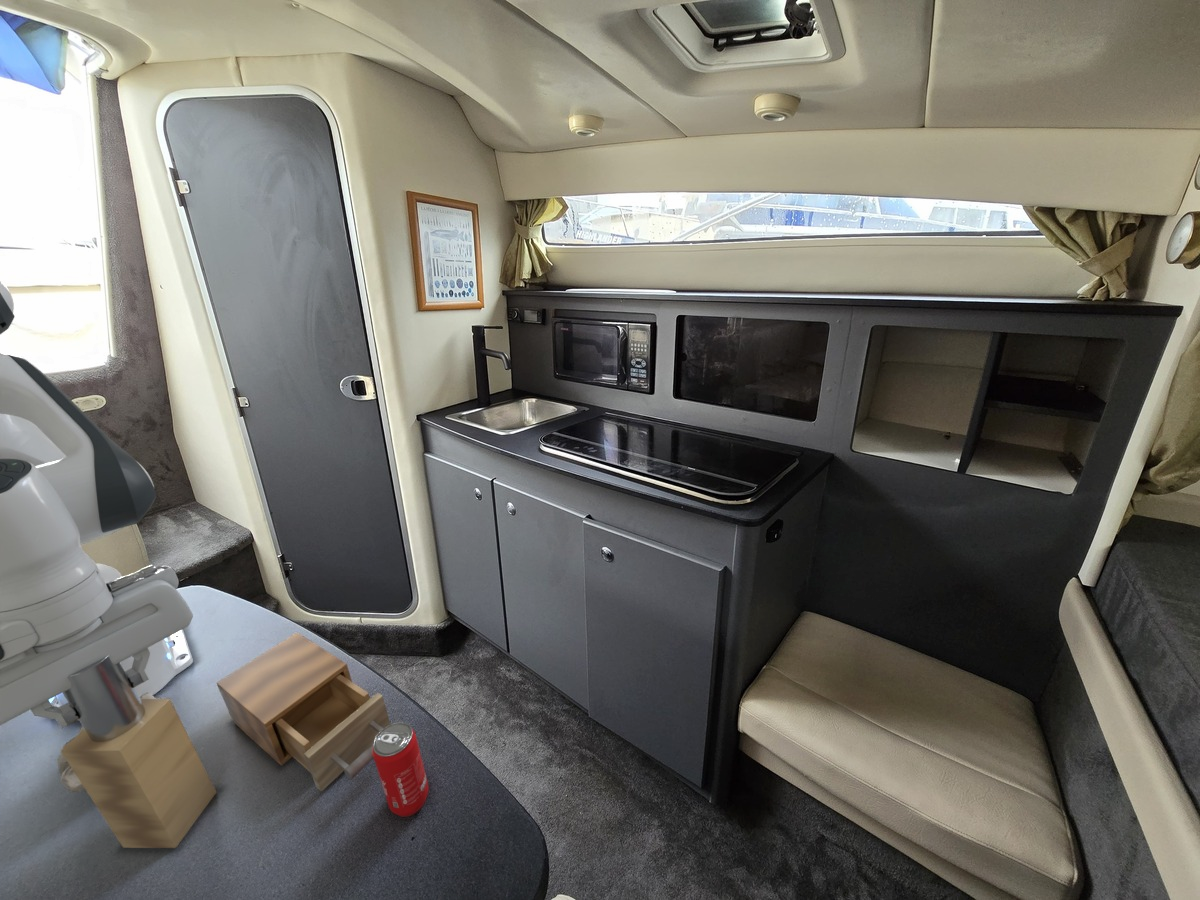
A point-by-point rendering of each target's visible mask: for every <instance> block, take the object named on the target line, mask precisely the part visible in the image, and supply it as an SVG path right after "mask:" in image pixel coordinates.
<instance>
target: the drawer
mask: <svg viewBox="0 0 1200 900" xmlns="http://www.w3.org/2000/svg"><path fill="white" fill-rule="evenodd" d="M391 724H392V723H391V720H390V718H389V713H388V710H387V707H386V703H385V700H384V695H382V694H381V693H380V692H376V694H374V695H373V696H371V697H370V693H369V692H368V691H366V690H365V689H363V688H362V687H360V686H359V685H357V684H356V683H354V682H353V681H352V682H351V681H350V680H348V679H347V678H345V677H344V676H342V675H341V674H338V675H337V676H336V677H334V678H333V679H332V680H330V681H329V682H328V683H326V684H325V685H324V686H322V687H321V688H320V689H318V690H317V691H316V692H314V693H313V694H311V695H310V696H309V697H307V698H306V699H305V700H303V701H302V702H301V703H299V704H298V705H297V706H295V707H294V708H293V709H291V710H290V711H289V712H287V713H286V714H285V715H283V716H282V717H281V718H279V719H278V720H277V721H275V722H274V723H272V726H273V729H274V731H275V734H276V736H277V739H278V741H279V744H280V746H281V747H282V748H283V749H284V750H285V751H286V752H288V753H289V754H290V755H291V756H292V758H293V759H294V760H295V761H296V762H298V763H299V764H300V765H301V766H302V767H303V768H305V769H306V770H307V771H308V772H309V773H310V775H311V777H312V779H313V782H314V784H315V785H314V786H315V788H316V789H318V790H319V792H323V791H324V790H325V789H326V788H327V787H328V786H329V785H330V784H331V783H333V782H334V781H335V780H336V779H337V778H338V777H340V775H341V774H342V773H344V775H346V777H347V778H348V779H349V780H353V779H354V778H355V777H357V775H358V774H359V773H360V772H361V771H362V770H363V769H364V768H366V766H367V765H369V763H371V762H372V761H373V760H374V757H373V744H374V740H375V738H376V736H377V735H378V734H379V732H380V731H381V730H382V729H384V728H385V727H387V726H388V725H391Z"/></svg>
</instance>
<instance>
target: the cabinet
mask: <svg viewBox="0 0 1200 900" xmlns="http://www.w3.org/2000/svg"><path fill="white" fill-rule="evenodd" d="M338 674H341V675H342V676H344V677H345V678H347V679H348V680H350V681H351V682H353V679H352V676H351V673H350V671H349V667H348V664H347V663H346V662H344V661H343V660H342V659H340V658H338V657H337V656H335V655H334V654H332V653H331V652H329V651H328V650H326V649H324V648H323V647H321V646H320V645H319V644H316V643H315V642H313V641H312V640H310V639H309V638H307V637H305V636H304V635H302V634H301V633H299V632H298V631H296V632H295V633H293V634H292V635H290V636H288V637H287V638H285V639H283V640H282V641H281V642H279V643H277V644H276V645H274V646H273V647H271V648H269V649H268V650H266V651H265V652H263V653H261V654H260V655H258V656H257V657H255V658H254V659H252V660H250V661H249V662H247V663H245V664H244V665H242V666H241V667H239V668H237V669H236V670H235V671H233V672H231V673H229V674H228V675H226V676H225V677H223V678H221V679H220V680H219V681H217V682H216V686H217V687H218V690H219V693H220V695H221V697H222V700H223V702H224V704H225V706H226V708H227V711H228V713H229V715H230V717H231V719H232V721H233V724H234V725H236V726H237V727H238V728H239V729H240V730H241V731H243V732H244V733H245V734H246V735H247V736H248V737H249V738H250V739H251V740H252V741H254V742H255V743H256V744H257V745H258V746H259V747H260V748H261V749H262V750H263V751H264V752H266V753H267V754H268V755H269V756H270V757H271V758H272V759H273V760H274V761H275V762H277V763H278V765H279V766H283V765H285V764H286V763H287V762H288V761H290V759H292V758H293V757H292V756H291V755H290V754H289V753H288V752H286V751H285V750H284V749H283V748H282V747H281V746H280V744H279V741H278V739H277V736H276V734H275V731H274V729H273V726H272V723H274V722H275V721H277V720H278V719H279V718H281V717H282V716H283V715H285V714H286V713H287V712H289V711H290V710H291V709H293V708H294V707H295V706H297V705H298V704H299V703H301V702H302V701H303V700H305V699H306V698H307V697H309V696H310V695H311V694H313V693H314V692H316V691H317V690H318V689H320V688H321V687H322V686H324V685H325V684H326V683H328V682H329V681H330V680H332V679H333V678H334V677H336V676H337V675H338Z"/></svg>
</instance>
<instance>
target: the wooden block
mask: <svg viewBox="0 0 1200 900" xmlns="http://www.w3.org/2000/svg"><path fill="white" fill-rule="evenodd" d="M140 700H141V702H142V704H143V706H144V708H145V714H144V716H143V718H142V719H141V720H140V721H139V722H138V723H137V724H136V725H135V726H134V727H133V728H132V729H130V730H129V731H127V732H126V733H124V734H122V735H120V736H118V737H116V738H114V739H111V740H108V741H103V742H95V741H92V740H91V739H90V737H89V736H88V734H87V732H86V731H85V729H84V730H83V731H81V732H80V733H79V732H78V733H79V734H78V733H77V735H76V736H74V737H75V738H74V737H73V738H74V739H73V740H72V741H70V742H69V743H68V744H67V745H66V746H65V747H64V748H63V747H62V748H63V749H62V748H61V750H60V753H61V752H62V754H63V755H64V757H65V758H66V760H67V762H68V763H69V765H70V766H71V768H72V769H73V771H74V772H75V774H76V775H77V777H78V779H79V780H80V782H81V783H82V785H83V786H84V788H85V789H86V790H85V791H86V793H87V794H88V796H89V797H90V799H91V800H92V802H93V803H94V805H95V807H96V808H97V809H98V812H99V813H100V814H101V816H102V817H103V820H105V822H106V824H107V825H108V826H109V829H110V830H111V831H112V833H113V834H114V836H115V838H116V839H117V840H118V842H119V843H120V845H121V847H122V848H123V849H176V848H177V847H178V846H179V845H180V844H181V842H182V841H183V839H184V838H185V836H186V835H187V834H188V833H189V831H190V830H191V828H192V827H193V825H194V824H195V823H196V822H197V820H198V819H199V817H200V816H201V815H202V814H203V812H204V810H205V809H206V808H207V806H208V805H209V804H210V802H211V801H212V800H213V798H214V797H215V795H216V794H217V790H216V788H215V787H214V786H215V785H214V784H213V781H212V780H211V779H210V776H209V774H208V772H207V770H206V769H205V766H204V764H203V762H202V760H201V757H200V756H199V754H198V752H197V751H196V748H195V746H194V744H193V742H192V740H191V738H190V736H189V733H188V731H187V730H186V728H185V726H184V724H183V722H182V720H181V718H180V716H179V714H178V712H177V710H176V708H175V706H174V704H173V702H172V699H171V698H156V699H140Z"/></svg>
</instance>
